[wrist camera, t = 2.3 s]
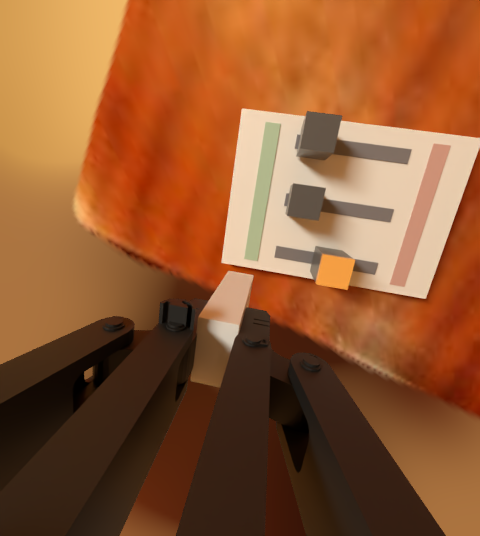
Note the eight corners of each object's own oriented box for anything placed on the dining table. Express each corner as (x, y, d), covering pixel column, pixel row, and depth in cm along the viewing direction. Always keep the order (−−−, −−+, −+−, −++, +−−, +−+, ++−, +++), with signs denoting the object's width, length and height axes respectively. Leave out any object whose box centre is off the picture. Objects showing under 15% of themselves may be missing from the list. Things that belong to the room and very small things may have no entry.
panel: (468, 142, 28) (483, 138, 26) (416, 293, 32) (426, 299, 30) (244, 114, 30) (241, 108, 28) (224, 259, 34) (221, 262, 32)
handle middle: (318, 189, 29) (326, 188, 24) (312, 217, 29) (318, 220, 25) (290, 185, 29) (293, 183, 25) (285, 213, 30) (287, 215, 25)
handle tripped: (342, 250, 30) (355, 260, 25) (335, 275, 31) (347, 289, 26) (315, 245, 30) (323, 254, 25) (309, 271, 31) (316, 284, 26)
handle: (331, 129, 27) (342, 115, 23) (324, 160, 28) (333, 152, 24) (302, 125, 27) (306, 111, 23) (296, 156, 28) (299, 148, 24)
